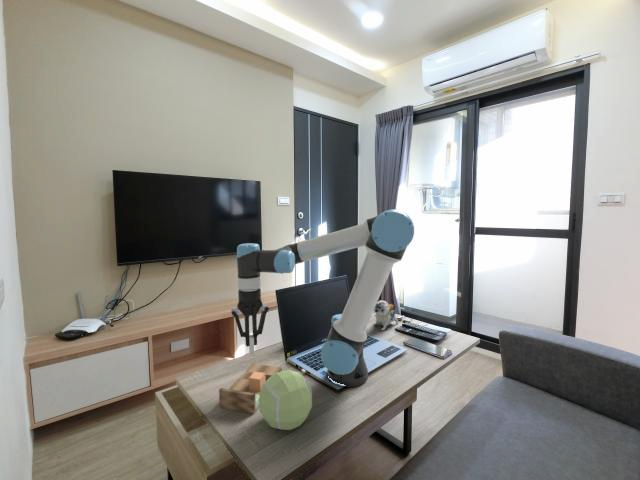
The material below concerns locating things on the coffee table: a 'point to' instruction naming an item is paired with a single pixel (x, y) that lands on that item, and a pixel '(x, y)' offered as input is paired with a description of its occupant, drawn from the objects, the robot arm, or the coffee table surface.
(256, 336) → the robot arm
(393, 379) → the coffee table surface
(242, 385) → the wooden box
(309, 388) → the decorative sphere
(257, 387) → the cube
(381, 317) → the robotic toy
